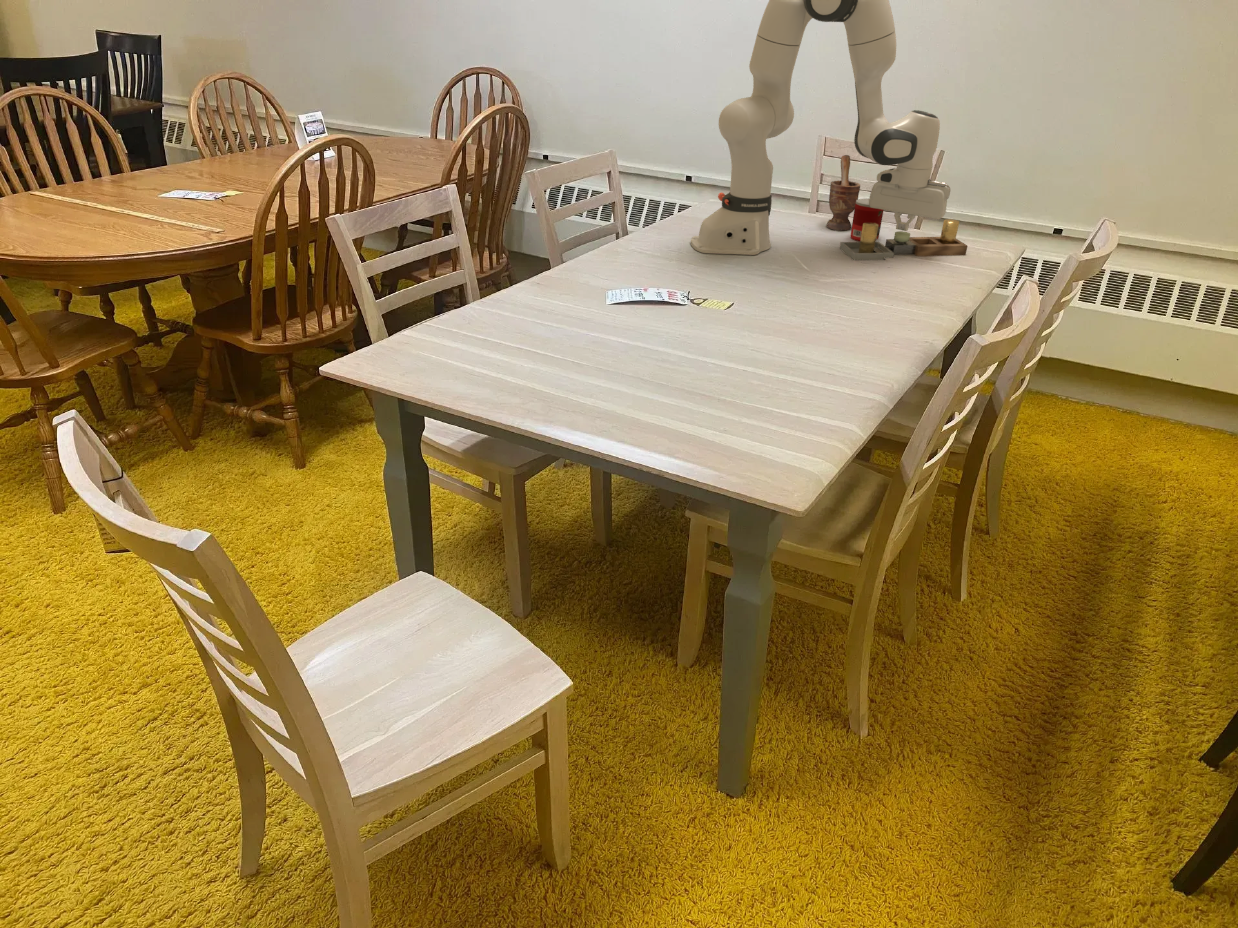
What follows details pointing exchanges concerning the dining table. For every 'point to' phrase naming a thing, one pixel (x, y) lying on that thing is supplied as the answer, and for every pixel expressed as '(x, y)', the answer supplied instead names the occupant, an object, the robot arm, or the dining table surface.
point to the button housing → (900, 247)
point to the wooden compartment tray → (937, 247)
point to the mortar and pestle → (842, 198)
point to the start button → (901, 237)
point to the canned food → (864, 218)
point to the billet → (868, 237)
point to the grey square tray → (853, 250)
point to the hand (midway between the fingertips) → (901, 229)
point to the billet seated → (949, 231)
